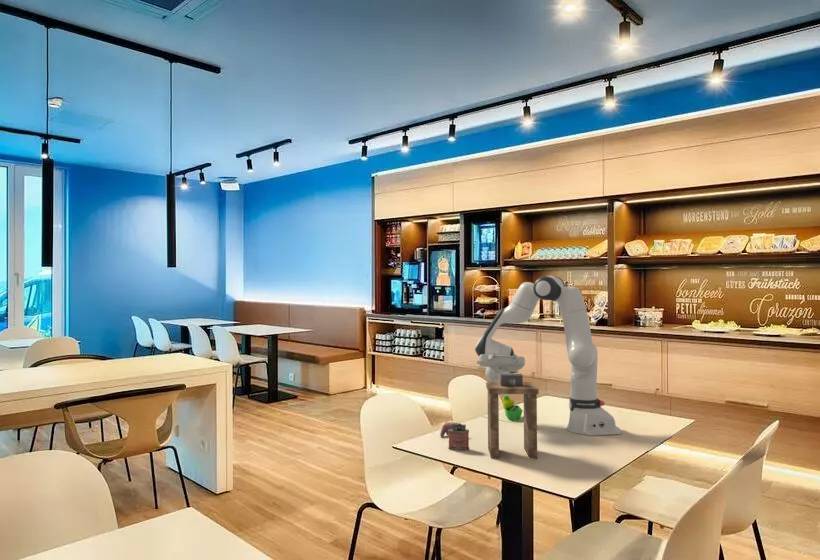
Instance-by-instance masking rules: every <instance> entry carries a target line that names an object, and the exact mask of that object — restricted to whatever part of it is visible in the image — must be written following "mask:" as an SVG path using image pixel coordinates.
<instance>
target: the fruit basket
mask: <svg viewBox="0 0 820 560" xmlns="http://www.w3.org/2000/svg"><path fill="white" fill-rule="evenodd" d="M501 400H502V406H503V409H504V412H505V416H507V417H506V418H507V419H508V421H509V420H517V421H518V420H520V421H521V418H522V413H523V412H524V409H522V408H521V407H520V405H518V404H517V405H516V404H515V401H514V399H512V397H510V396H509V395H508V394H504V395H503V396H502V399H501Z"/></svg>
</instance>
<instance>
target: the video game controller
mask: <svg viewBox="0 0 820 560" xmlns="http://www.w3.org/2000/svg"><path fill="white" fill-rule="evenodd" d="M450 424H458V422H445V423H444V424H442V426H441V429H440V433H439V435H440V438H443V437H444V436H445V434H446V435H447V436H448V437H449V432H448V430H449V429H453V428H454V427H450ZM455 429H457V427H455Z"/></svg>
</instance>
